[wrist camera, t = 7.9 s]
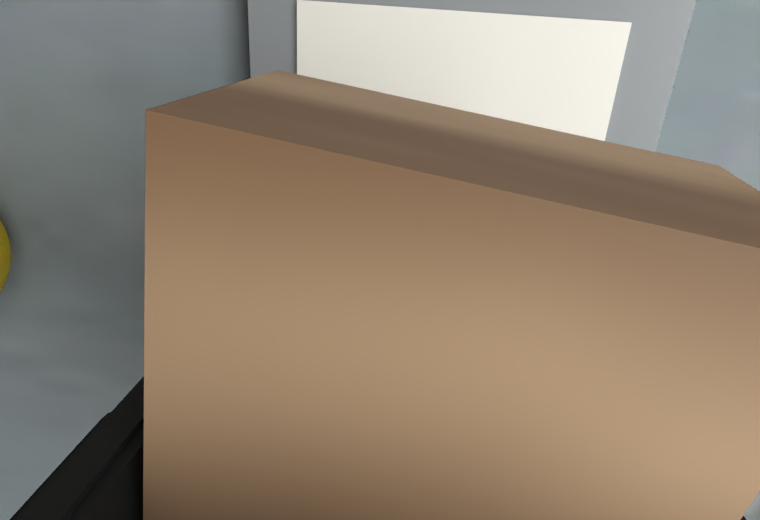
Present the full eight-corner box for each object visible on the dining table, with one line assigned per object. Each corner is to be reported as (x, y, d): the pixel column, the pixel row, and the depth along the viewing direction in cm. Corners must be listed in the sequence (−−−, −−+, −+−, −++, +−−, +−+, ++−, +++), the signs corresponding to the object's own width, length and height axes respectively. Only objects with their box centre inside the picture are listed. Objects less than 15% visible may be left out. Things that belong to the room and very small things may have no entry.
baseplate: (256, -101, 16) (241, -109, 15) (704, -80, 15) (722, -87, 13) (271, 425, 24) (261, 445, 23) (560, 469, 23) (565, 493, 22)
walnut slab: (277, 70, 9) (145, 110, 5) (720, 165, 9) (898, 279, 5) (226, 564, 14) (141, 755, 10) (502, 640, 14) (512, 866, 10)
